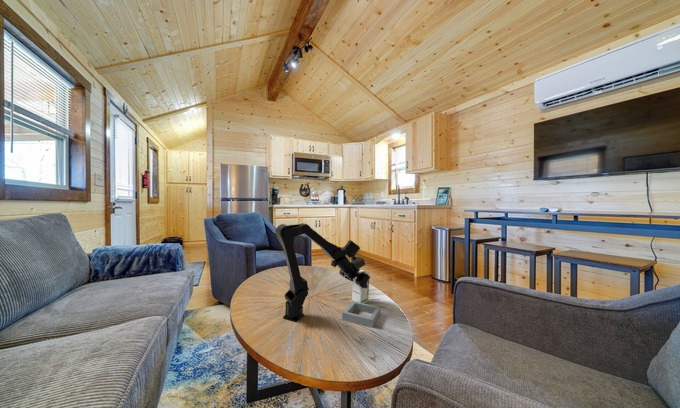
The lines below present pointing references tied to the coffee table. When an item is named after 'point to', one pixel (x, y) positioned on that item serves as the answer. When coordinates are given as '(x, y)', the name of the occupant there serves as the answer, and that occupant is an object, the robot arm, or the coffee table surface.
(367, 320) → the socket board
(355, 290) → the syrup box
